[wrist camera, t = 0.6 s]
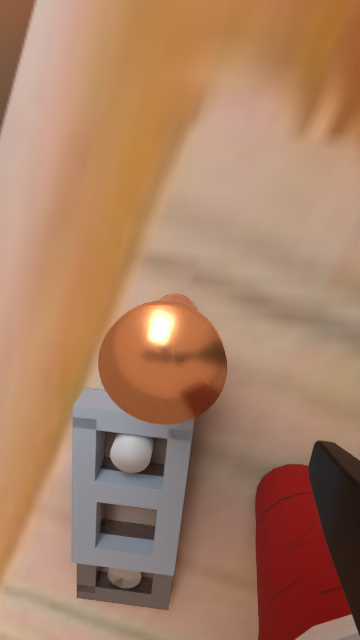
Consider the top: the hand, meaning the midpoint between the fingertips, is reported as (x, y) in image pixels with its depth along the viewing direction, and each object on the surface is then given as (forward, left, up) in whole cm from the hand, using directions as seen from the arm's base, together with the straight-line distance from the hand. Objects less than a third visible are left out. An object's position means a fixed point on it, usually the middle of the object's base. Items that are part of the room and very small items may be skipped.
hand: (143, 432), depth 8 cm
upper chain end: (+2, +13, -13) cm, 18 cm away
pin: (0, 0, -13) cm, 13 cm away
